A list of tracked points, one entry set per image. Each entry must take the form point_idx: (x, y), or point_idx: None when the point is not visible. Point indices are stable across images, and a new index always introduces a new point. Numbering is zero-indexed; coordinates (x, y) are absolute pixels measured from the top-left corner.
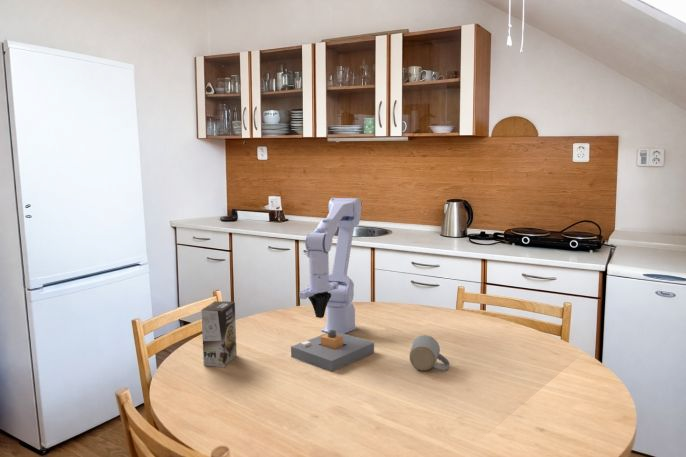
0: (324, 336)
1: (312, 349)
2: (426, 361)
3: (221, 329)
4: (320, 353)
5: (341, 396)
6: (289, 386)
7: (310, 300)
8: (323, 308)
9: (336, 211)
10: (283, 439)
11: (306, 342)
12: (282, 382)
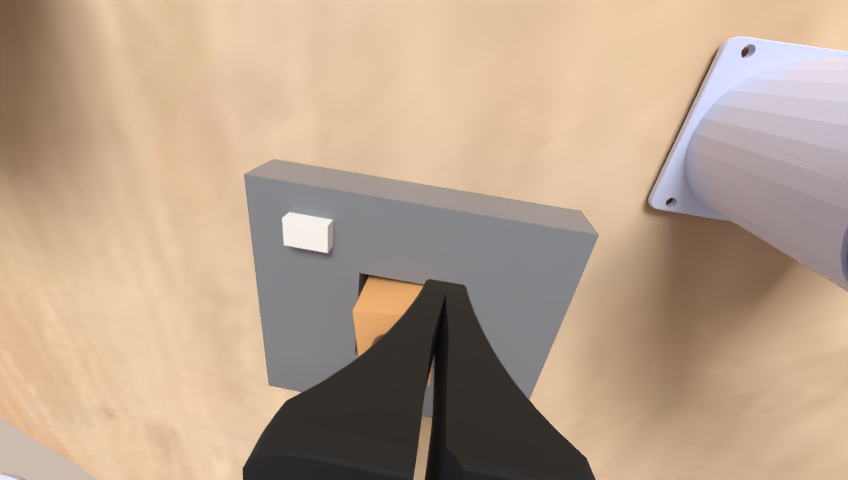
0: (368, 323)
1: (296, 282)
2: None
3: None
4: (288, 328)
5: (207, 422)
6: (124, 305)
7: (331, 383)
8: (433, 404)
9: None
10: (14, 404)
11: (308, 238)
12: (118, 274)
